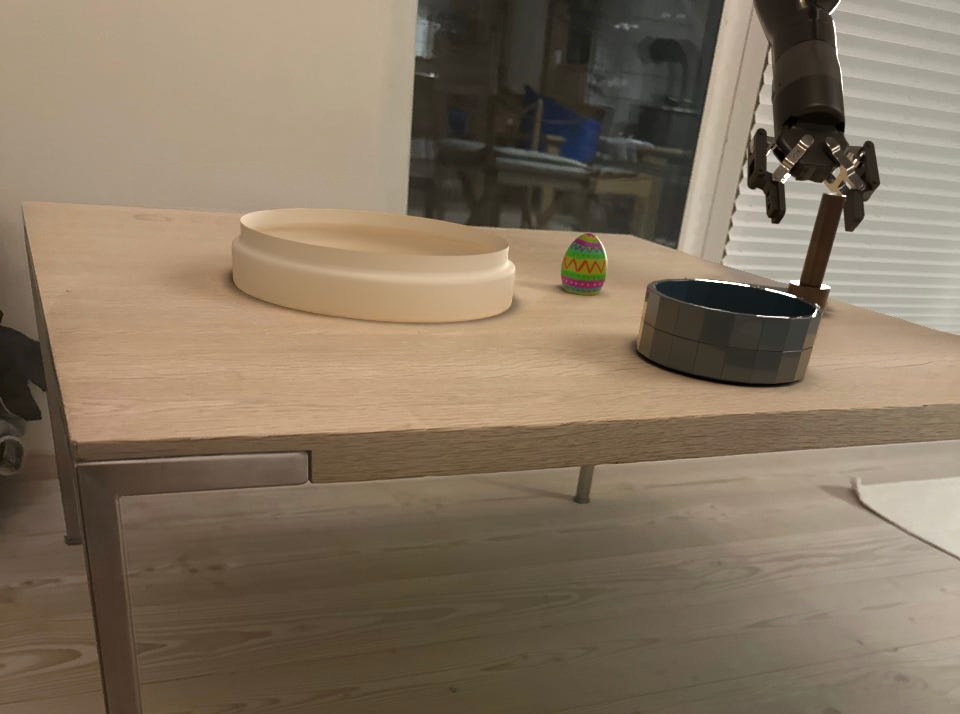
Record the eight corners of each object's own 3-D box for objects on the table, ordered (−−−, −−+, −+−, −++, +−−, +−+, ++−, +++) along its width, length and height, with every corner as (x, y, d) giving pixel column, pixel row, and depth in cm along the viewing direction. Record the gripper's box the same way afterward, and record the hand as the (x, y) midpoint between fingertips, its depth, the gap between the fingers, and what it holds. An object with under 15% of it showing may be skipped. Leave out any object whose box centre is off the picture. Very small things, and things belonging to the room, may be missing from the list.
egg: (612, 296, 100) (621, 236, 97) (585, 299, 97) (594, 238, 94) (576, 286, 103) (584, 228, 100) (549, 290, 99) (556, 230, 96)
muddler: (809, 309, 105) (841, 193, 99) (830, 318, 101) (864, 198, 95) (775, 307, 104) (805, 190, 98) (795, 316, 100) (827, 195, 94)
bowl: (752, 345, 86) (767, 283, 83) (837, 391, 74) (858, 321, 72) (611, 339, 82) (622, 274, 80) (678, 387, 71) (693, 313, 68)
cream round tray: (554, 296, 96) (562, 240, 93) (424, 341, 75) (428, 270, 72) (340, 253, 106) (341, 201, 103) (170, 282, 85) (166, 217, 82)
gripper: (760, 64, 100) (768, 192, 96) (884, 79, 101) (897, 206, 98) (733, 117, 107) (740, 239, 103) (850, 131, 109) (860, 251, 105)
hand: (816, 223), depth 100 cm, fingers open, 8 cm apart
